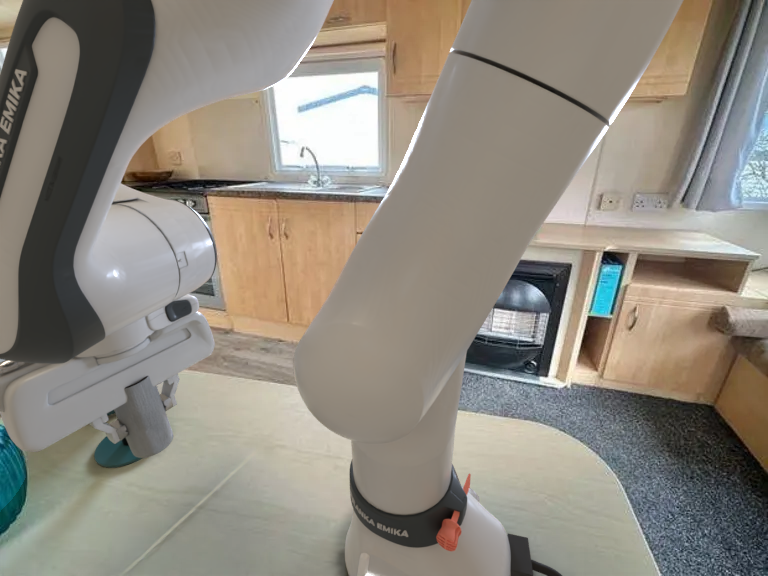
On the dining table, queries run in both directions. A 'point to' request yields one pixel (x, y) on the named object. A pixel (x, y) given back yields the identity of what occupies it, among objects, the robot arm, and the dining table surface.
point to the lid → (114, 453)
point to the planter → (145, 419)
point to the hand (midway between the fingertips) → (145, 421)
